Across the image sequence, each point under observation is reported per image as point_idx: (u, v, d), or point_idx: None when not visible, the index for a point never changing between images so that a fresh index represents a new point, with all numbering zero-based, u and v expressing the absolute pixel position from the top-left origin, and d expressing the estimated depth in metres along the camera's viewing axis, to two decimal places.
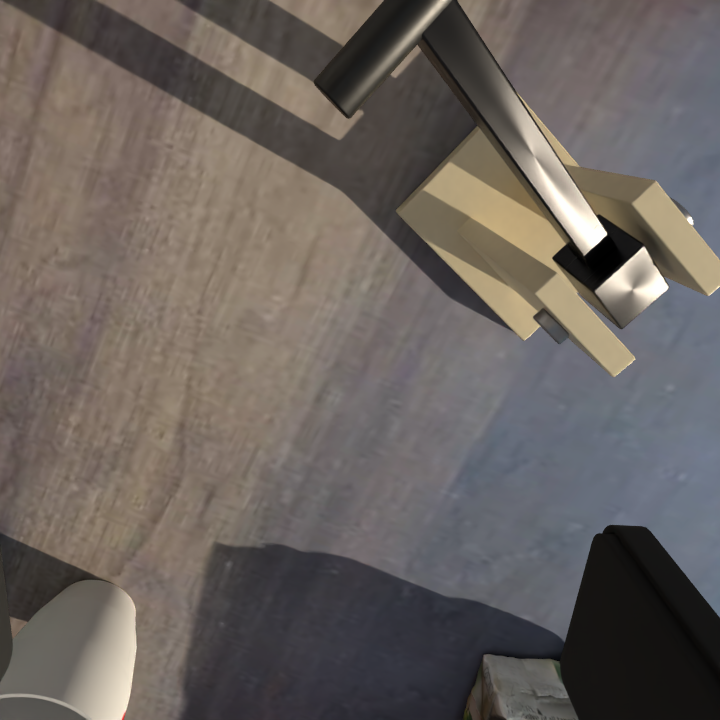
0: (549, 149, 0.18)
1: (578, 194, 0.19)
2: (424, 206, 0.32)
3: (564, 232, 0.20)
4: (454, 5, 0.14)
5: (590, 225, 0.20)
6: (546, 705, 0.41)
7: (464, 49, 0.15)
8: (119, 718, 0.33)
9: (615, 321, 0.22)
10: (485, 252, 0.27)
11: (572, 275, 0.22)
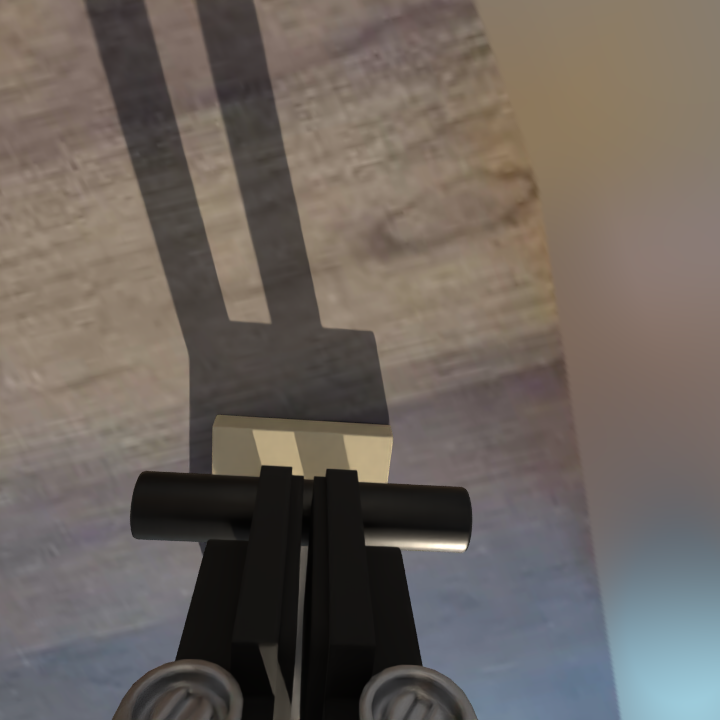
0: None
1: None
2: (239, 442, 0.28)
3: None
4: None
5: (295, 719, 0.17)
6: None
7: (303, 576, 0.12)
8: None
9: None
10: None
11: None
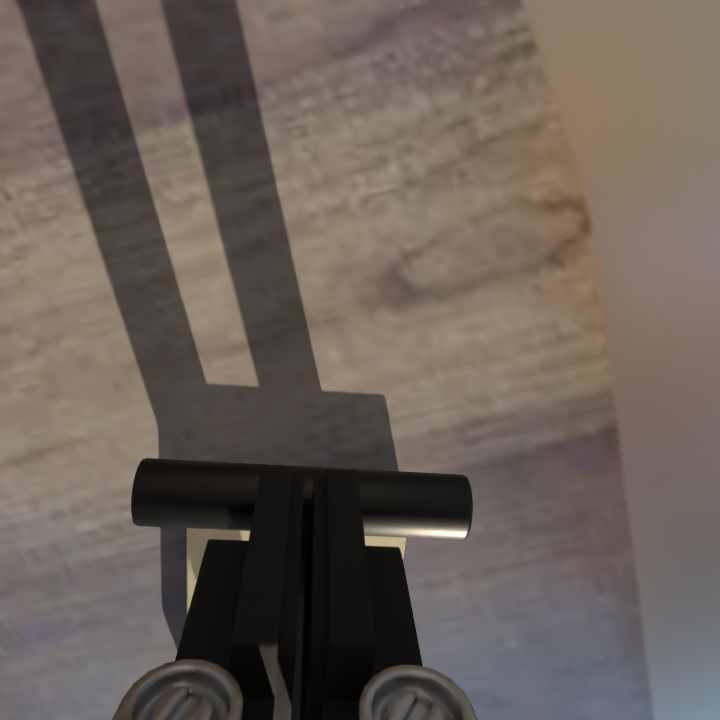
0: None
1: None
2: (220, 530, 0.23)
3: None
4: None
5: None
6: None
7: (304, 583, 0.11)
8: None
9: None
10: None
11: None
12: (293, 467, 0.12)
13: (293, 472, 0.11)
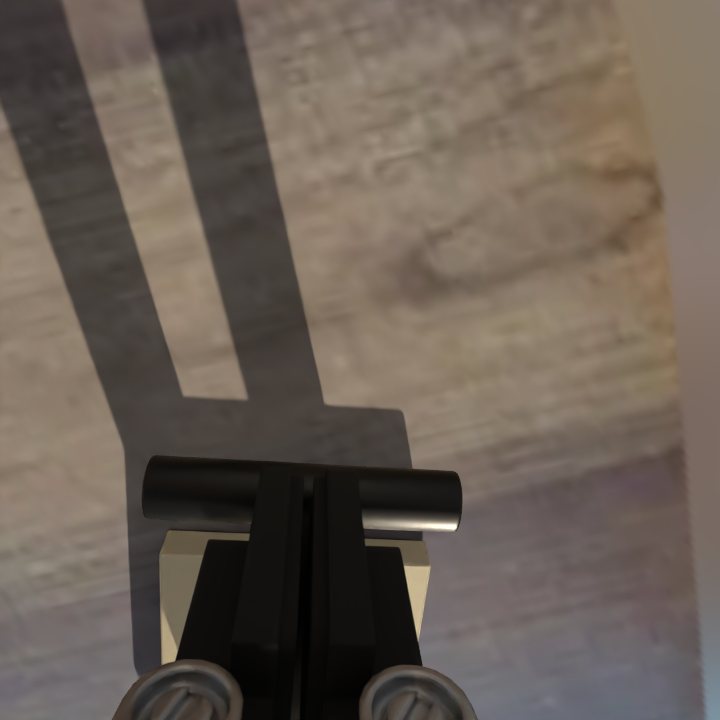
0: None
1: None
2: None
3: None
4: None
5: None
6: None
7: (304, 573, 0.12)
8: None
9: None
10: None
11: None
12: None
13: (294, 463, 0.12)
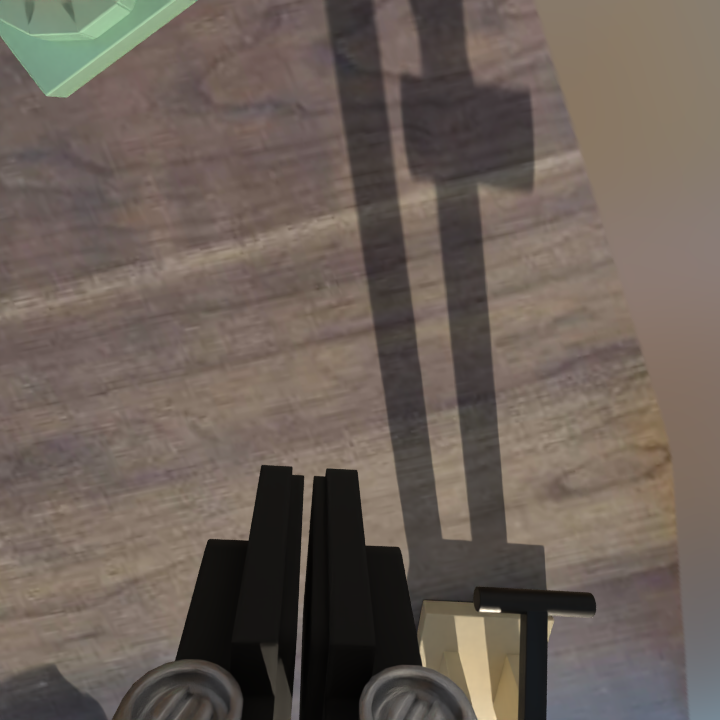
0: None
1: None
2: (443, 624, 0.38)
3: None
4: (546, 614, 0.31)
5: None
6: None
7: (538, 634, 0.31)
8: None
9: None
10: None
11: None
12: (528, 589, 0.32)
13: (530, 590, 0.32)
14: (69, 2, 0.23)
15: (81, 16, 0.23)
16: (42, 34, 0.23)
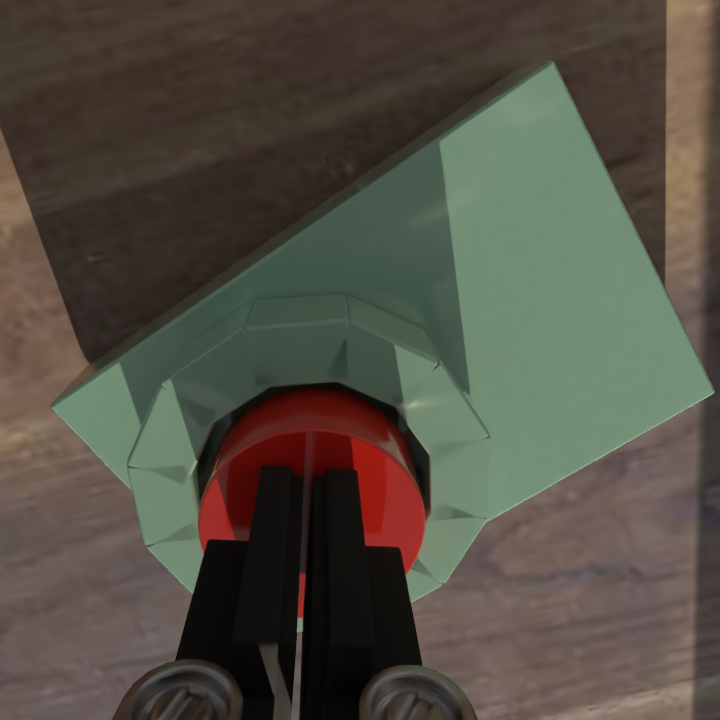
0: None
1: None
2: None
3: None
4: None
5: None
6: None
7: None
8: None
9: None
10: None
11: None
12: None
13: None
14: None
15: None
16: None
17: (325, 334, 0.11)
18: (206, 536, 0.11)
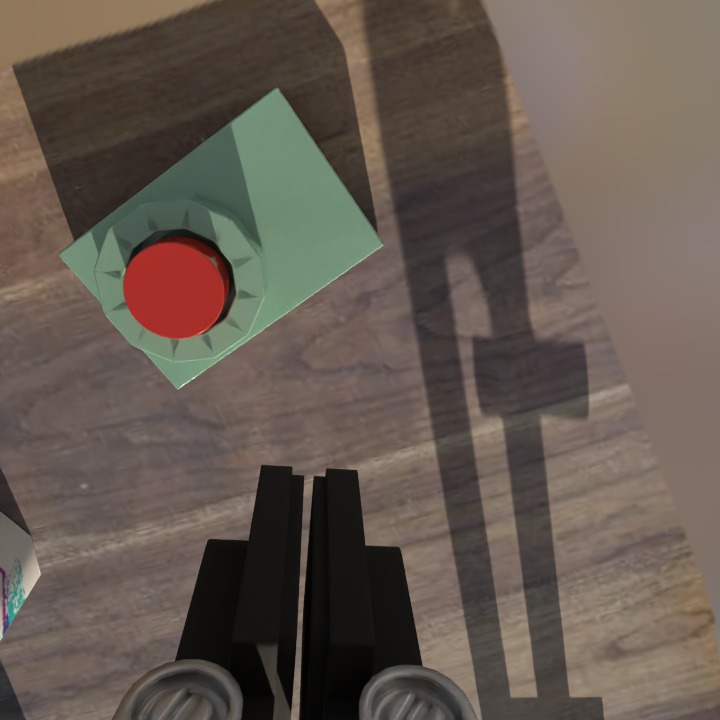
0: None
1: None
2: None
3: None
4: None
5: None
6: None
7: None
8: None
9: None
10: None
11: None
12: None
13: None
14: (207, 337, 0.27)
15: (217, 346, 0.28)
16: (184, 361, 0.28)
17: (178, 206, 0.25)
18: (127, 294, 0.25)
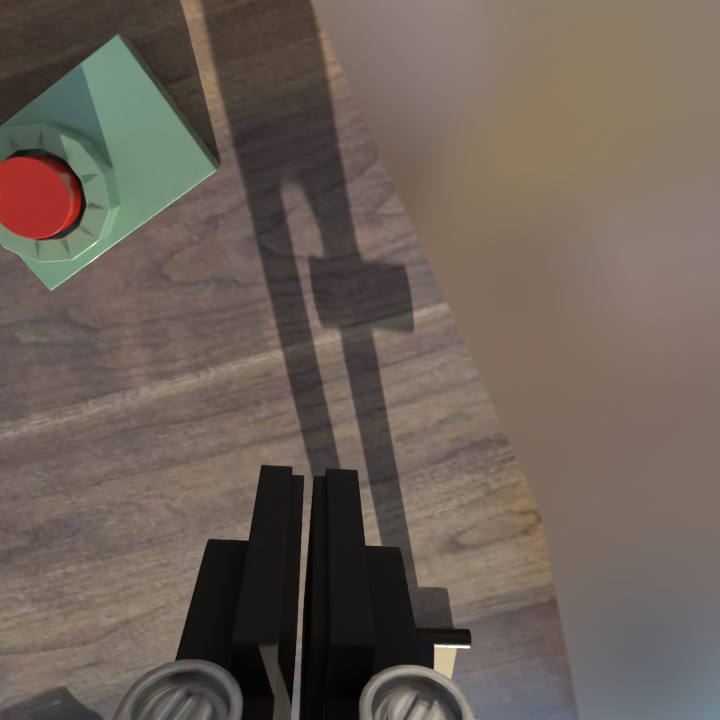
0: None
1: None
2: None
3: None
4: (432, 646, 0.42)
5: None
6: None
7: (427, 662, 0.41)
8: None
9: None
10: None
11: None
12: None
13: (422, 628, 0.42)
14: (65, 241, 0.33)
15: (73, 249, 0.34)
16: (47, 261, 0.34)
17: (33, 129, 0.31)
18: None
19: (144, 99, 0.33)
